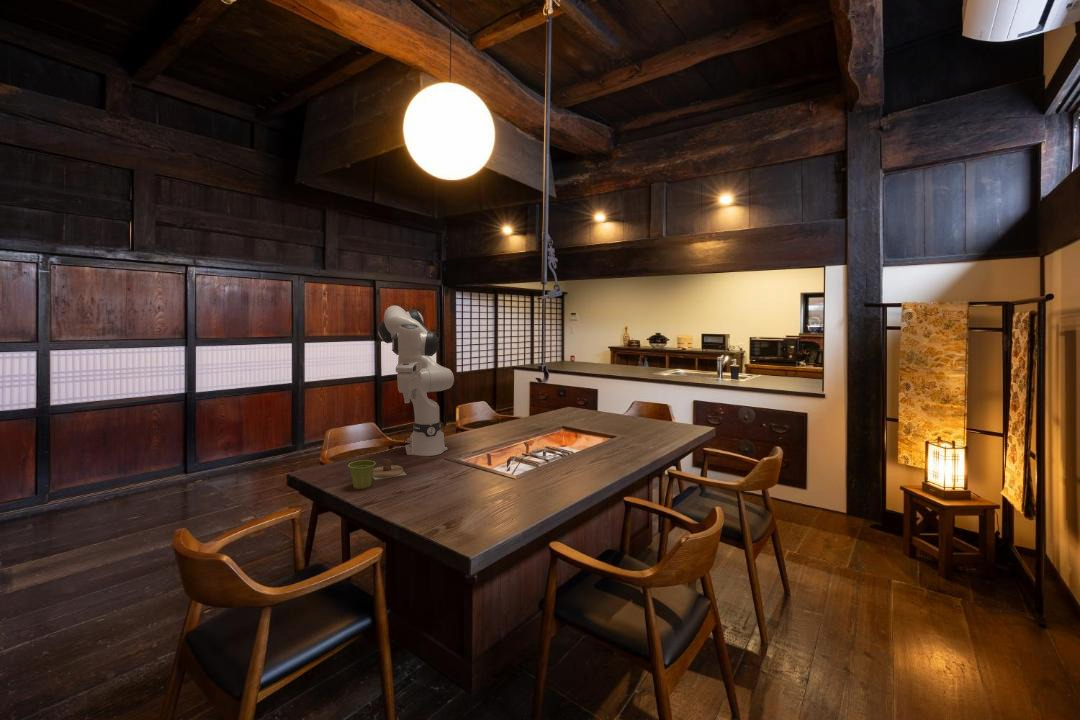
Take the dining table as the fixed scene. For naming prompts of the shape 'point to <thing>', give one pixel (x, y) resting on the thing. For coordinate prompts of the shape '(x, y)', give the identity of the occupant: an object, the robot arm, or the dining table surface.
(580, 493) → the dining table surface
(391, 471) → the lid
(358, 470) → the plant pot
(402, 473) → the mat
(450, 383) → the robot arm
